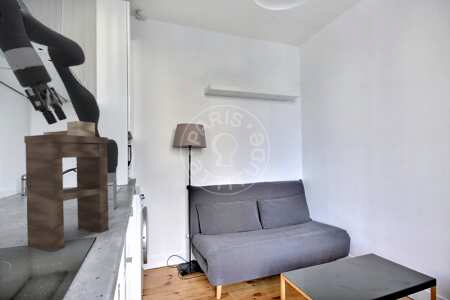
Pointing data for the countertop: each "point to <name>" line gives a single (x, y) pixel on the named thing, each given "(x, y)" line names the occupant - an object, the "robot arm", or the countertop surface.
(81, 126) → the mallet
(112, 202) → the syrup box
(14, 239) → the countertop surface
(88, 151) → the shelf
